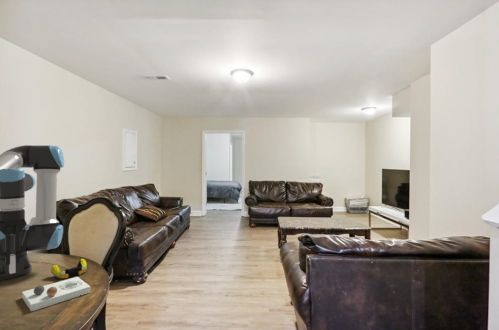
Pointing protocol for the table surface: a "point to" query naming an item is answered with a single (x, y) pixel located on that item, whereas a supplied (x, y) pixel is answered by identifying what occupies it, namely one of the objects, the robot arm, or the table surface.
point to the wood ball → (51, 291)
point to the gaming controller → (69, 270)
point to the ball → (39, 290)
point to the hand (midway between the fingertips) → (12, 272)
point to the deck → (64, 292)
